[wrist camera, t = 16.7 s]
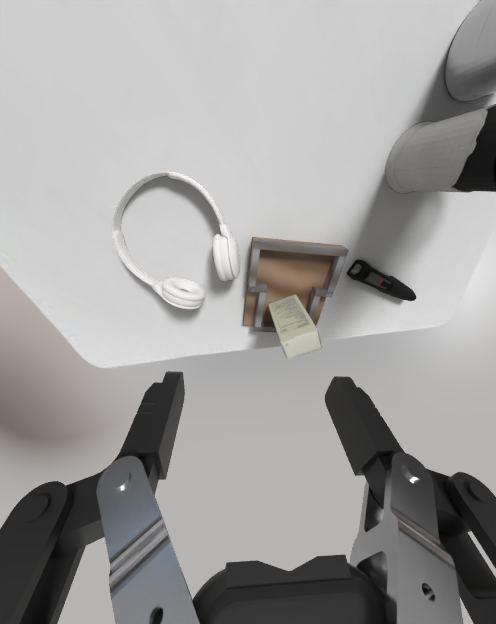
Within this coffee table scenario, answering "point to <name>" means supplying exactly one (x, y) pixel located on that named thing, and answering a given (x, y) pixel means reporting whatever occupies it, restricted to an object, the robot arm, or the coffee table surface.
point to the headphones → (177, 288)
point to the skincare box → (294, 327)
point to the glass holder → (446, 155)
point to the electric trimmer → (380, 281)
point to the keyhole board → (290, 277)
